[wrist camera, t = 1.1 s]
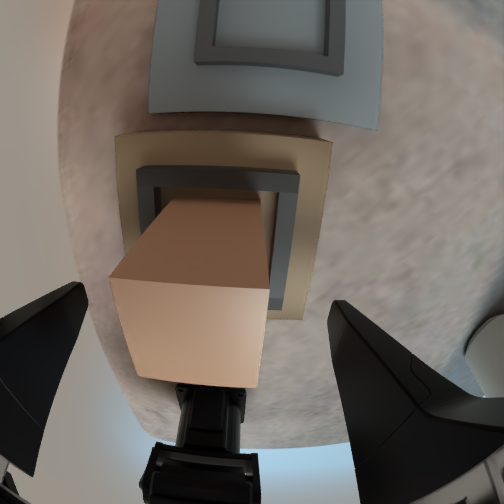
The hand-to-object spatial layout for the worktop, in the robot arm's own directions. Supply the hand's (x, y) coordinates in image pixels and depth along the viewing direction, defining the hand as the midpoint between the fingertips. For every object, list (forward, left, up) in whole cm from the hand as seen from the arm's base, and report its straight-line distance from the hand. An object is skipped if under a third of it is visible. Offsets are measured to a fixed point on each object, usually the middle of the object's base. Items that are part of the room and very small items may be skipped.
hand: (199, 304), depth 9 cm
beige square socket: (0, 0, -8) cm, 8 cm away
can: (-11, -29, -8) cm, 32 cm away
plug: (0, 0, -5) cm, 5 cm away
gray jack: (+12, -2, -8) cm, 14 cm away
